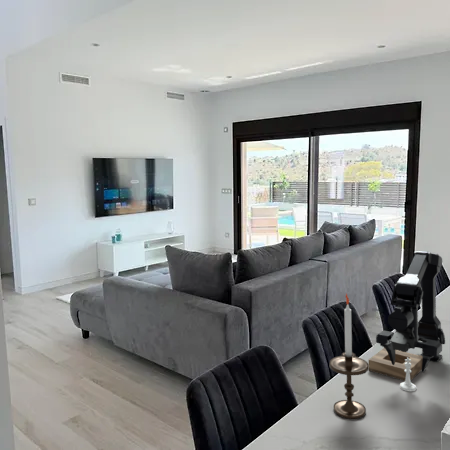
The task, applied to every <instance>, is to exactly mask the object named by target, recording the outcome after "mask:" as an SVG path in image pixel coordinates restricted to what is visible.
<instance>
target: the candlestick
mask: <svg viewBox="0 0 450 450" xmlns="http://www.w3.org/2000/svg"><path fill="white" fill-rule="evenodd" d="M345 298H346V299H345V300H346V303H345V304H346V306H345V308H344V352H342V353H341V355H339V356H335V357H333V358H331V359H330V360H329V369H330V370H331V371H333V372H334V373H337V374H340V375H345V376H346V383H344V385H343V387H344V389H345V390H346V392H345V393H344V395H345V396H346V399H342V400H338V401H337V402H335V403H334V404H333V412H334V413H335V414H336V415H337V416H338V417H341V418H342V419H347V420H359V419H362V418H364V417H365V416H366V413H367V412H366V411H367V409H366V407H365V405H364V404H362V403H361V402H358V401H356V400H353V397H354V392H353V390H354V389H355V385H354V384H353V383H352V376H359V375H363V374H366V373H368V371H369V362H368V361H366V360H365V359H363V358H361V357H359V356H357V354H356V353H354V352H353V334H352V330H353V329H352V328H353V327H352V309H351V308H350V305H349V303H350V299H349V297H348V293H345Z"/></svg>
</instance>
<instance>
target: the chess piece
mask: <svg viewBox="0 0 450 450" xmlns="http://www.w3.org/2000/svg"><path fill="white" fill-rule="evenodd" d="M405 361H407V362H406V363H405V367H406V369H405V370H404V371H405V372H406V379H405V381H402V382H400V383H399V388H400V389H401V390H402V391H405V392H415V391H417V385H416V384H414V383H412V380H410V373H411V372H412V371H411V370H410V367H411V363H409V361H411V360H410V359H409V358H407V359H405Z"/></svg>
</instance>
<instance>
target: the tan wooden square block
mask: <svg viewBox="0 0 450 450" xmlns="http://www.w3.org/2000/svg"><path fill="white" fill-rule="evenodd" d="M407 358H409V359H410V360H411V361H409V363H411V367H410V370H411V371H412V372H411V373H410V380H411V381H413V379H414V378H415V377H416V376H417V375H418V374H419V373H420V372H422V359H423V357H422V356H420V354H414V353H411V352H408V351H407V352H402V351H399V350H395V364H394V365H392V362H391V360H390V357H389V355H388V352H387V350H386V349H385V348H384V347H382V348H381V349H380V350H379V351H378V352H377V353H375V354H374V355H372V357H370V358H368V361H367V362H368V371H369V372H373V373H375V372H376V374H380V375H382V374H383V375H384V376H386V375H387V376H386V377H390V378H393V377H394V379H397V380H400V379H401V381H403V382H405V379H406V372H405V371H404V370H405V369H406V367H405V363H406V362H407V361H405V359H407ZM383 375H382V376H383Z"/></svg>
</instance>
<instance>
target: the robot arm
mask: <svg viewBox="0 0 450 450" xmlns="http://www.w3.org/2000/svg"><path fill="white" fill-rule="evenodd" d="M412 255H413V257H412V260H411V263H410V265H409V267H408V269H407V272H406V274H405V275H404V276H401V277H400V278H399V279H398V280H397V282H396V283H395V284H394V286H393V291H392V295H391V300H390V305H391V306H395V307H394V310H393V311H391V313H389V315H388V317H387V322H388V325H389V327H390V328H392V329H393V330H395V332H392V331H388V330H382V331H380V332H379V333H377V334H376V336H375V343H377V344H378V345H380V347H382V348H385V349H386V350H387V352H388V355H389V357H390V360H391V362H392V365H394V364H395V350H399V351H402V352H407V353H408V351H409V350H410V349H413V350H414V349H415V348H418V349H421V353H420V354H419V355H420V356H422V357H423V359H422V370H421V374H422V373H425V371H426V369H427V367H428V365H429V362H430V361H432V362H437V363H438V362H439V361H440V359H442V357H443V355H442V354H441V352H443V345H445V344H446V336H445V333H444V329H443V328H442V322H441V321H440V319H439V318H438V317H437V313H436V312H437V310H436V309H437V307H436V306H437V301H436V299H437V297H436V296H437V293H436V291H437V290H436V289H437V288H436V286H437V284H436V277H437V275H438V274H439V273H440V271H441V267H443V258H442V256H440V255H439V254H438V253H433V252H429V251H422V250H416V251H414V252H413V254H412ZM420 305H421V317H420V319H419V318H418V317H419V315H418V314H419V313H418V312H419V311H418V310H419V309H418V308H419V306H420ZM418 319H419V320H418Z"/></svg>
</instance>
